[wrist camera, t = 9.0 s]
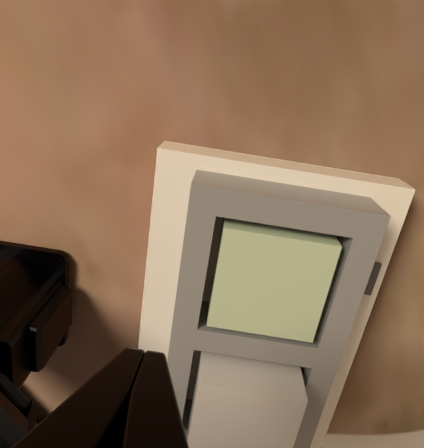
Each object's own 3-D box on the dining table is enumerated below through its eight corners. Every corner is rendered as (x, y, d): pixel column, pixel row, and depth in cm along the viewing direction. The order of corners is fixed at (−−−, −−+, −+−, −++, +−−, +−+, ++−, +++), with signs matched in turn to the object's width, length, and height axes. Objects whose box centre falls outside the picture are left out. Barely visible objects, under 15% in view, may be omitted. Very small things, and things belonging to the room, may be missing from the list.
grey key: (189, 418, 21) (184, 460, 19) (201, 346, 19) (197, 383, 17) (278, 432, 21) (283, 476, 19) (299, 361, 19) (308, 401, 17)
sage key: (209, 296, 20) (206, 326, 18) (225, 208, 18) (223, 227, 16) (303, 311, 20) (312, 342, 18) (328, 224, 18) (342, 246, 16)
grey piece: (131, 460, 28) (113, 528, 24) (164, 140, 19) (146, 159, 15) (292, 485, 28) (302, 557, 24) (398, 178, 19) (443, 207, 15)
